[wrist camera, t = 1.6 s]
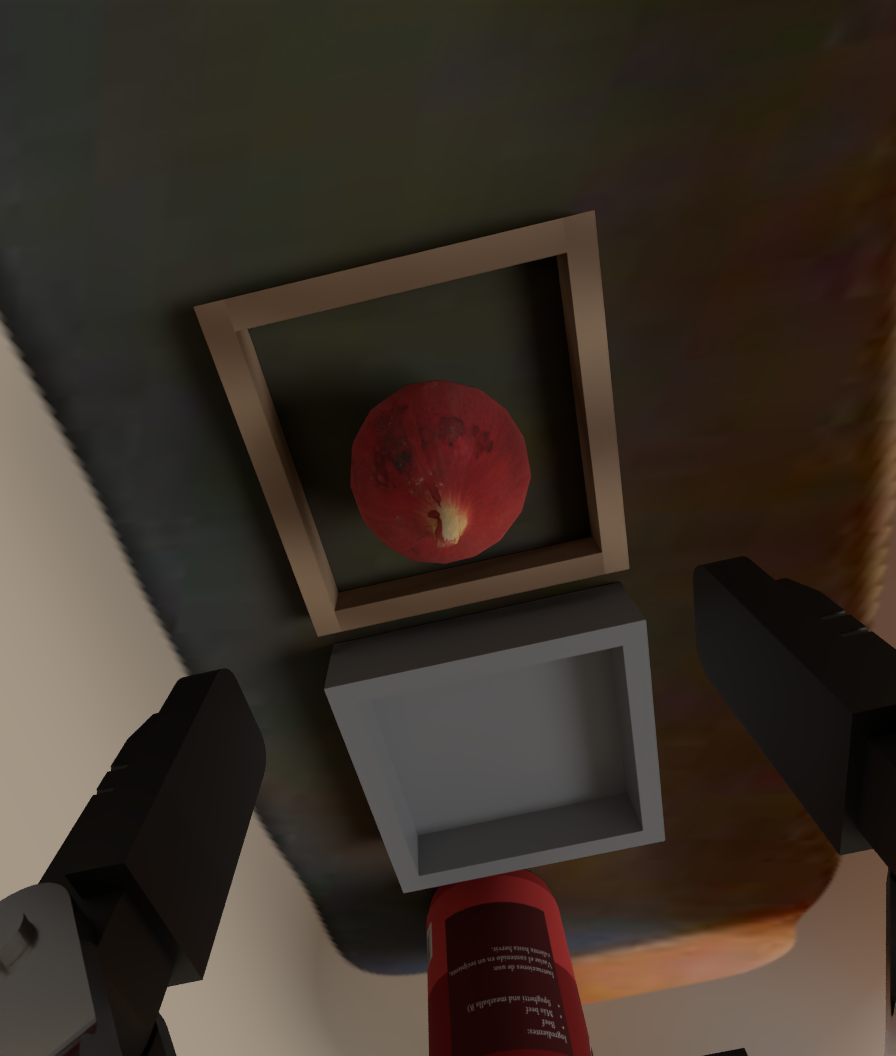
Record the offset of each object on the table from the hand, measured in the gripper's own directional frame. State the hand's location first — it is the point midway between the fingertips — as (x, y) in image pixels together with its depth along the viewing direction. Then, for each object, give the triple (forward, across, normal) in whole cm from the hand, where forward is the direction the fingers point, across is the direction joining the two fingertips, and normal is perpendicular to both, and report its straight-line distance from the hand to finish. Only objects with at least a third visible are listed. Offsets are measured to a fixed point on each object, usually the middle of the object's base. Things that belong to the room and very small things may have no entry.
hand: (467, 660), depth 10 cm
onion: (+14, 0, 0) cm, 14 cm away
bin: (+14, 0, +14) cm, 20 cm away
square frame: (+14, 0, 0) cm, 14 cm away
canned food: (+14, +3, +28) cm, 31 cm away
